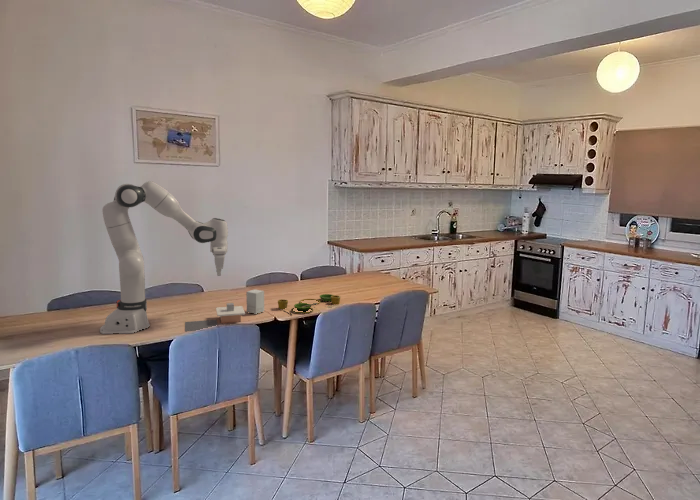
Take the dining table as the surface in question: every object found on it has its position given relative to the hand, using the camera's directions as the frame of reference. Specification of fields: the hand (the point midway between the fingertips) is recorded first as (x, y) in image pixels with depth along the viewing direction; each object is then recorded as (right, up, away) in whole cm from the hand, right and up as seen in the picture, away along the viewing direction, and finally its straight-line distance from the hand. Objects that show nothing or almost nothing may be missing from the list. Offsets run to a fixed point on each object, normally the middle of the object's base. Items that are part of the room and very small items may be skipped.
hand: (218, 274), depth 249 cm
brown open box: (+6, -25, -1) cm, 26 cm away
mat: (-6, -26, -11) cm, 29 cm away
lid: (+7, -20, -1) cm, 21 cm away
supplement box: (+17, -23, +16) cm, 33 cm away
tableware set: (+47, -22, +32) cm, 61 cm away
